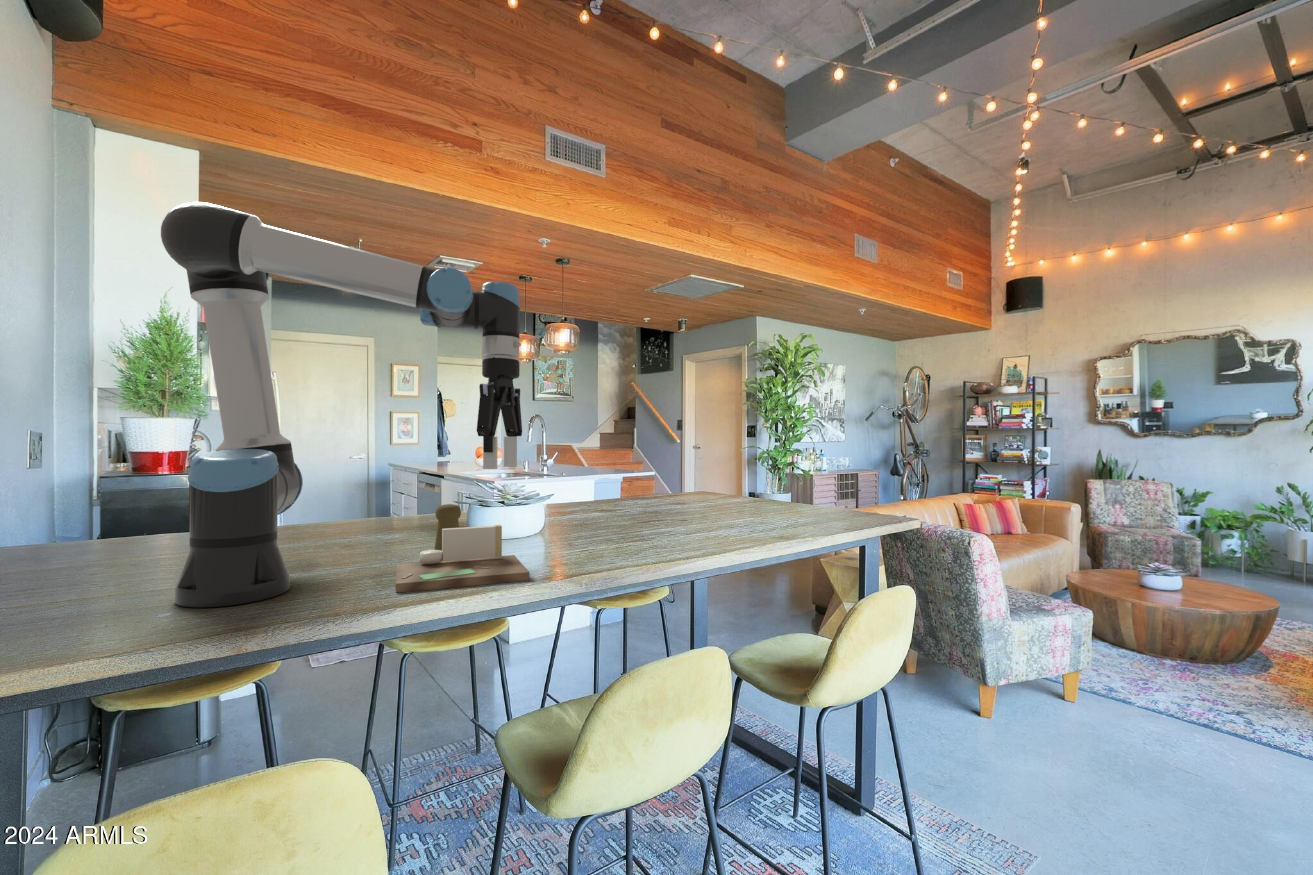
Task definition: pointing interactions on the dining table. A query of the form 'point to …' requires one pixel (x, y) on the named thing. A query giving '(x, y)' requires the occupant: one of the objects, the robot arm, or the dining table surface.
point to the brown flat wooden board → (459, 573)
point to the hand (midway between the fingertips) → (500, 467)
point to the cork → (446, 521)
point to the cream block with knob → (466, 544)
